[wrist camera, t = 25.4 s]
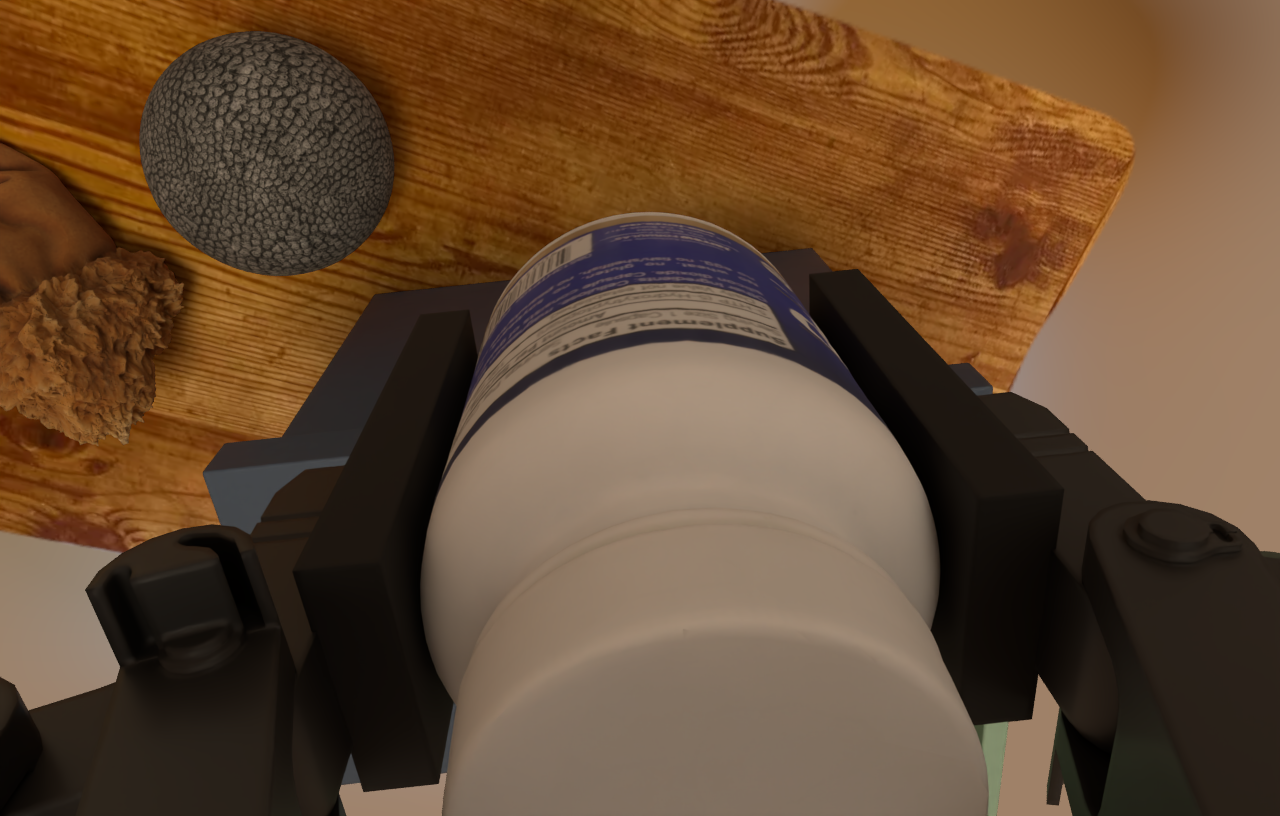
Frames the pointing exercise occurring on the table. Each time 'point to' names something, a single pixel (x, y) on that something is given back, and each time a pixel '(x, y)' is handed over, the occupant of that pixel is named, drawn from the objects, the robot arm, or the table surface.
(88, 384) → the stuffed squirrel
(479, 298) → the gray rectangular block
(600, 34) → the table surface
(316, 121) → the decorative ball
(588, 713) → the pill bottle
